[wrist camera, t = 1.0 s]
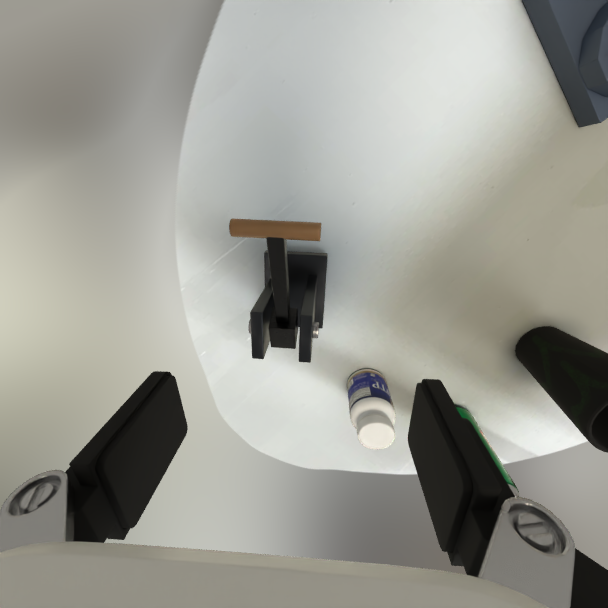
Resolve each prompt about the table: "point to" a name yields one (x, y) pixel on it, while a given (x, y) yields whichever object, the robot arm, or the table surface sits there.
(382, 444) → the pill bottle
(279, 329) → the lever
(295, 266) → the switch bracket
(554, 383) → the cup
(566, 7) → the control block
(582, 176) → the table surface
